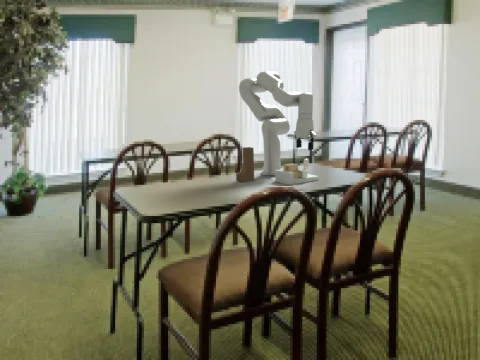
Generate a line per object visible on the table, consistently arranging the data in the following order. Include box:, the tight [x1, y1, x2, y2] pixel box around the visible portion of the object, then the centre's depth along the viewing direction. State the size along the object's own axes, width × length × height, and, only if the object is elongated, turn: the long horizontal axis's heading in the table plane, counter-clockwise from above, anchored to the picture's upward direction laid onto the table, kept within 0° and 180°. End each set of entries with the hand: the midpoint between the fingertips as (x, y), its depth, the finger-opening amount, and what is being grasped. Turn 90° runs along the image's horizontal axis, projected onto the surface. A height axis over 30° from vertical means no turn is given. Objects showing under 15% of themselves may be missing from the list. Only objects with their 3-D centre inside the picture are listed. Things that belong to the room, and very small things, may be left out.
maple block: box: [282, 163, 299, 178], centre depth 258 cm, size 5×6×7 cm
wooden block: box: [235, 146, 255, 183], centre depth 262 cm, size 9×4×18 cm, turn 120°
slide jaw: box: [298, 158, 310, 178], centre depth 262 cm, size 12×9×9 cm
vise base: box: [274, 169, 320, 185], centre depth 261 cm, size 12×20×6 cm, turn 122°
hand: (304, 148), depth 262 cm, fingers open, 9 cm apart
